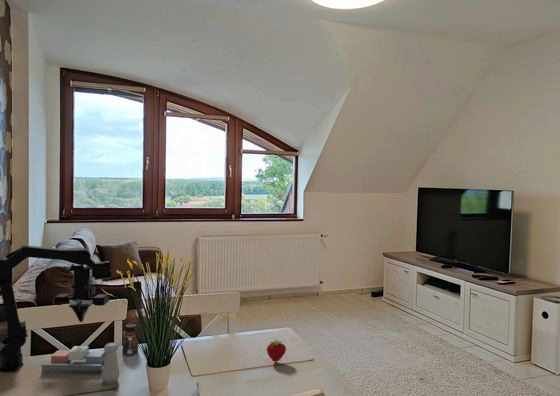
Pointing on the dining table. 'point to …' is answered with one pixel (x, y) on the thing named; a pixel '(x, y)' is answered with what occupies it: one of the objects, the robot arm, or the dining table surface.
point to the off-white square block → (78, 353)
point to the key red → (60, 357)
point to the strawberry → (276, 350)
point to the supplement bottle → (129, 341)
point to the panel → (73, 367)
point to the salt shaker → (110, 364)
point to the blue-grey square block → (95, 357)
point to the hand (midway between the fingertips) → (81, 321)
